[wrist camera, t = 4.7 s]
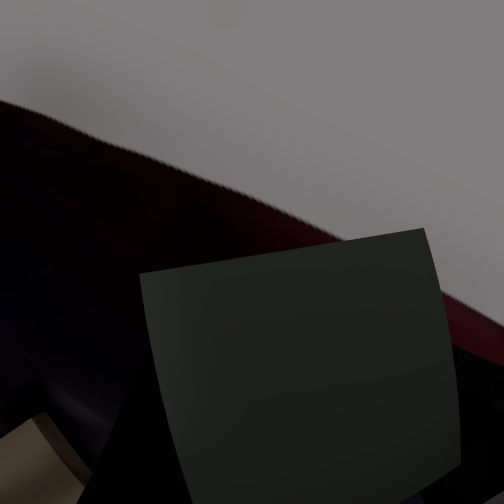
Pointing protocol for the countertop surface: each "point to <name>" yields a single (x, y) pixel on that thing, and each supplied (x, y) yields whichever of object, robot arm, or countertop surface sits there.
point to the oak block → (40, 465)
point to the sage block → (308, 373)
